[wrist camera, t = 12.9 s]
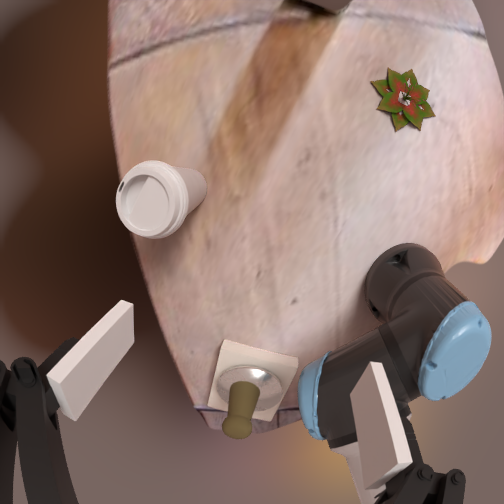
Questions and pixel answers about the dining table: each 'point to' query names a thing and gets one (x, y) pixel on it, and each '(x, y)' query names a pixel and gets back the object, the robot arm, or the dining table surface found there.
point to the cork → (240, 409)
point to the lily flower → (394, 106)
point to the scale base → (249, 355)
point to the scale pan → (256, 375)
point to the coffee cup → (158, 198)
